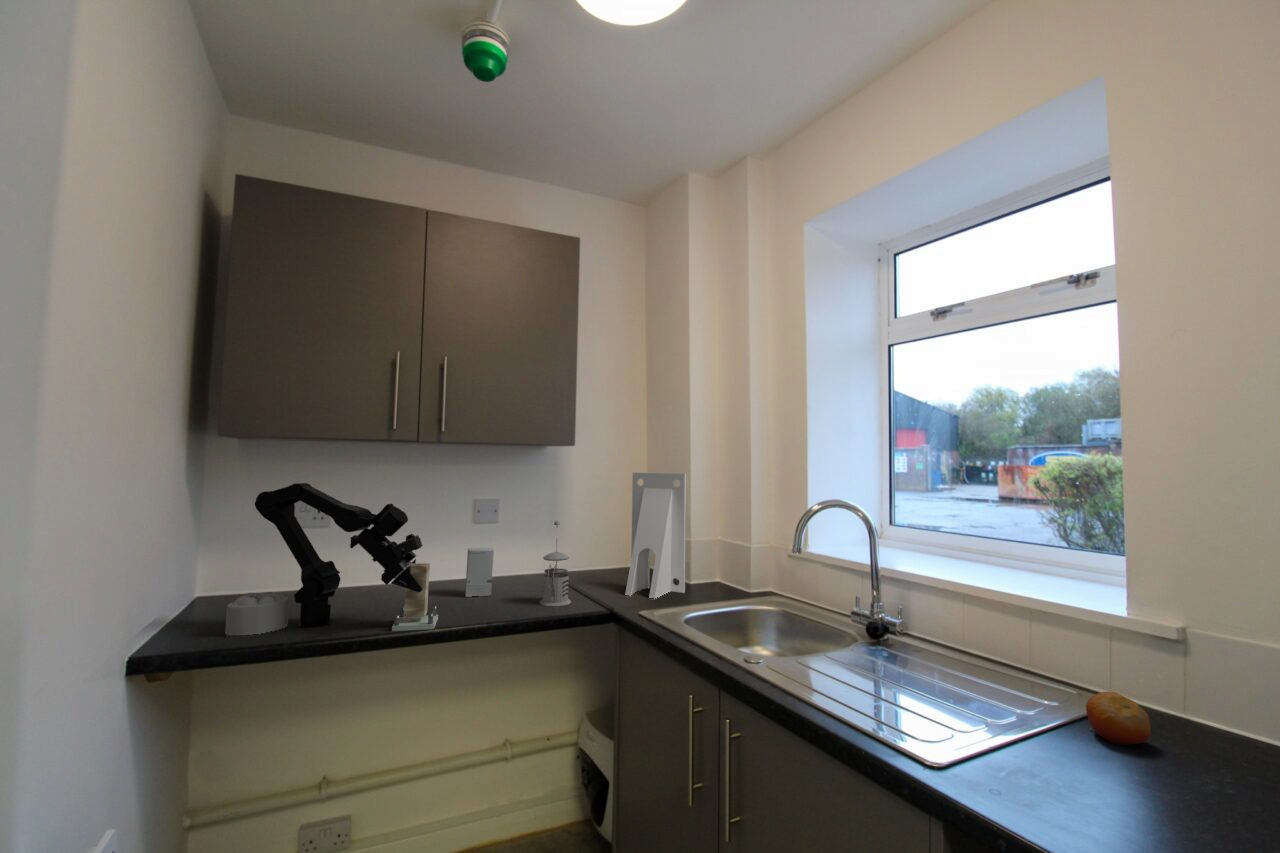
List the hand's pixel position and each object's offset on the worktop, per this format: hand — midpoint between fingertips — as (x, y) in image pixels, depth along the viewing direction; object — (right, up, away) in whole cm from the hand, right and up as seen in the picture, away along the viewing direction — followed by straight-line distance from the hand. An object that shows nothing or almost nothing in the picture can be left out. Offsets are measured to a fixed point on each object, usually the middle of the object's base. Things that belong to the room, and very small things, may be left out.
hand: (422, 588), depth 153 cm
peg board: (-1, -9, -1) cm, 9 cm away
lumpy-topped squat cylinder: (-40, -9, -7) cm, 41 cm away
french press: (+31, -11, +25) cm, 42 cm away
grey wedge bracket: (+61, -13, +40) cm, 74 cm away
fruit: (+135, -8, -61) cm, 148 cm away
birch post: (-1, -7, -1) cm, 7 cm away
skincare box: (+5, -12, +34) cm, 36 cm away
